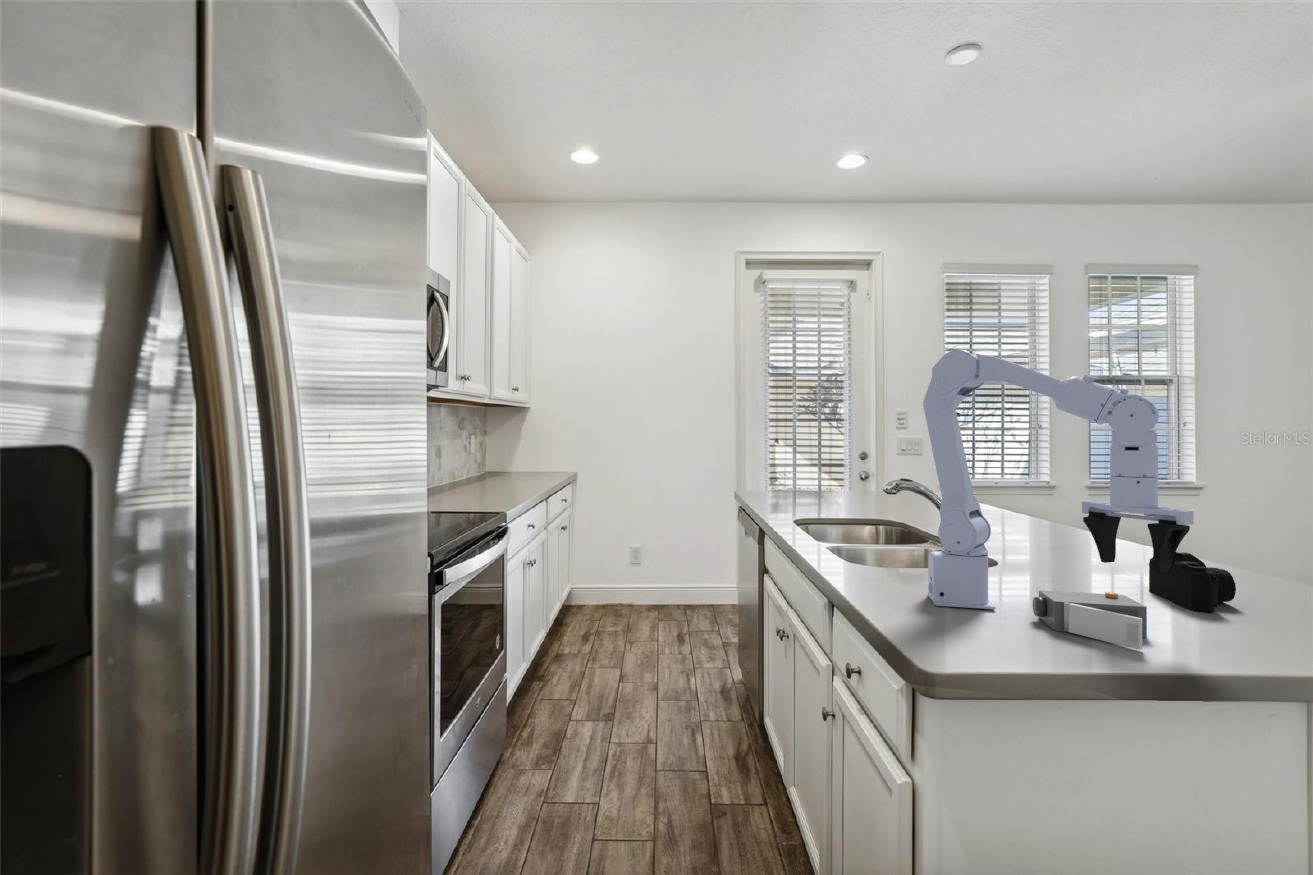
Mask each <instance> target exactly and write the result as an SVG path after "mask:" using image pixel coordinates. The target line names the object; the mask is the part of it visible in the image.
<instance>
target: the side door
mask: <svg viewBox="0 0 1313 875" xmlns="http://www.w3.org/2000/svg"><path fill="white" fill-rule="evenodd" d="M1064 631H1067V632H1068V633H1072V634H1075V635H1079V636H1083V637H1086V638H1087V637H1088V638H1091V639H1096V640H1099V641H1103V642H1107V643H1111V644H1115V645H1120V646H1123V647H1127V648H1131V649H1134V650H1139V651H1140V650H1142V649H1143V637H1142V618H1138V617H1133V616H1129V615H1124V614H1119V613H1115V612H1110V611H1105V610H1101V609H1096V608H1091V607H1086V606H1082V605H1077V604H1072V603H1071V604H1070V603H1068V602H1064ZM1064 631H1063V632H1064Z"/></svg>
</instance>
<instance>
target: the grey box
mask: <svg viewBox="0 0 1313 875" xmlns="http://www.w3.org/2000/svg"><path fill="white" fill-rule="evenodd" d="M1064 602H1068V603H1070V604H1071V603H1072V604H1077V605H1082V606H1086V607H1091V608H1096V609H1101V610H1105V611H1110V612H1115V613H1119V614H1124V615H1129V616H1133V617H1138V618H1142V638H1147V637H1148V632H1147V630H1148V628H1147V626H1148V625H1147V623H1148V621H1147V620H1148V617H1147V614H1148V612H1147V610H1148V608H1147V606H1146V605H1144V604H1142V603H1140V602H1138V601H1136V600H1134V599H1132V598H1130V597H1129V596H1126V595H1124V594H1118V593H1117V592H1111V591H1106V592H1104V593H1095V592H1093V593H1092V592H1091V593H1090V592H1075V591H1074V592H1071V591H1057V590H1056V591H1054V590H1038V597H1037V596H1034V597H1033V598H1032V612H1033V615H1034V616H1035V617H1038V618H1039V619H1040V620H1041V621H1043V623H1044V624H1046V625H1047V626H1048V627H1049V628H1051V630H1053V631H1054V632H1067V631H1064Z"/></svg>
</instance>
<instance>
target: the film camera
mask: <svg viewBox="0 0 1313 875" xmlns="http://www.w3.org/2000/svg"><path fill="white" fill-rule="evenodd" d="M1148 567H1149V569H1148V570H1149V571H1148V582H1149V583H1148V592H1149V593H1151V594H1153V595H1155V596H1158V597H1160V598H1161V599H1164V600H1167V601H1168V600H1169V601H1168V602H1170V601H1171V603H1172V604H1175V605H1178V606H1179V607H1182V608H1184V609H1187V610H1189V611H1192V612H1195V613H1201V614H1213V613H1214V612H1215V609H1216V608H1217V607H1218V604H1222V603H1227V602H1228V603H1229V602H1231V601H1232V600H1234V599H1235V596H1236V592H1237V587H1236V586H1237V585H1236V582H1235V578H1234V577H1233V576H1232V574H1231V573H1230V571H1228V570H1226V569H1225V568H1224V569H1223V568H1221V569H1220V568H1218V567H1211V566H1210V567H1208V566H1207V565H1206V564H1205V562H1203V561H1202V560H1200V559H1199V558H1198V557H1197V556H1195V555H1193V554H1191V553H1188V552H1186V551H1185V552H1177V551H1176V552H1175V554H1174V557H1173V560H1172V563H1171V566H1170V570H1169V572H1166V573H1157V572H1155V571H1154V566H1153V557H1151V558H1150V559H1149V562H1148Z"/></svg>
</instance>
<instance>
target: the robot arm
mask: <svg viewBox="0 0 1313 875" xmlns="http://www.w3.org/2000/svg"><path fill="white" fill-rule="evenodd" d="M1001 383H1007V384H1010V385H1014V386H1016V387H1020V388H1022V389H1024V390H1028V391H1032V392H1033V393H1037V394H1040V395H1042V396H1046V397H1049V398H1052V399H1053V402H1054V404H1055V406H1056V408H1057V409H1058V410H1059V411H1062V412H1064V413H1068V414H1070V415H1074V416H1075V417H1079V418H1082V419H1084V420H1087V421H1089V422H1092V423H1095V424H1098V425H1103V424H1108V426H1109V427H1110V428H1111V429H1112V430H1111V444H1110V446H1109V502H1108V501H1095V500H1094V501H1092V500H1085V501H1083V500H1082V501H1081V514H1087V516H1083V517H1082V521H1083V523H1084V525H1085V526H1086V527H1087V529H1088V531H1089V532H1090V534H1091V536H1092V538H1093V541H1094V543H1095V545H1096V548H1097V549H1096V550H1097V552H1098V555H1099V558H1100V562H1101V563H1104V564H1107V563H1115V561H1116V554H1117V549H1116V548H1117V547H1116V546H1117V545H1116V544H1117V543H1116V542H1117V535H1118V530H1119V529H1118V528H1119V525H1120V522H1121V520H1122V518H1126V519H1135V520H1143V521H1152V523H1151V522H1150V523H1147V528H1148V532H1149V534H1150V539H1151V543H1152V550H1153V551H1152V556H1153V557H1152V558H1153V566H1154V571H1155V572H1157V573H1166V572H1169V570H1170V566H1171V563H1172V560H1173V557H1174V554H1175V552H1177V550H1178V547H1179V546H1180V544H1181V542H1182V541H1183V539H1184V538H1185V536H1186V535H1187V534H1188V533H1189V532H1190V528H1191V527H1190V526H1191V525H1192V526H1193V525H1194V510H1189V509H1181V508H1173V507H1172V508H1171V507H1166V506H1164V507H1163V506H1159V446H1158V445H1157V441H1158V434H1157V432H1156V431H1157V430H1156V429H1154V428H1155V427H1156V426H1157V424H1158V422H1159V419H1160V414H1159V410H1158V409H1157V407H1156V405H1155V404H1154V403H1152V402H1151V401H1150V400H1148V399H1147V398H1145V397H1143V396H1135V395H1132V396H1128V395H1129V392H1130V390H1128V389H1126V388H1123V387H1121V388H1119V390H1118V389H1116V388H1113V387H1110V386H1108V385H1104V384H1101V383H1099V382H1095V378H1094V377H1092V376H1090V375H1086V374H1085V375H1084V376H1083V377H1081V376H1078V375H1074V376H1071V377H1068V378H1065V379H1058V378H1056V377H1053V376H1050V375H1048V374H1045V373H1042V372H1040V371H1038V370H1034V369H1031V368H1029V367H1025V366H1023V365H1021V364H1019V363H1015V362H1013V361H1009V360H1007V359H1004V358H1000V357H996V356H992V355H991V356H990V355H986V354H982V353H975V352H974V354H972V353H970V352H969V351H967V350H964V349H953V350H950V351H948V352H946V353H944V354H943V355H942V356H941V358H939V360H938V361H937V362H936V364H934V366H932V368H931V378H930V381H929V383H928V384H929V385H928V387H927V390H926V391H925V392H926V393H925V395H924V398H923V402H922V403H923V404H922V407H923V411H924V416H925V421H926V426H927V431H928V434H929V440H930V445H931V450H932V455H933V460H934V465H935V470H936V474H937V480H938V485H939V489H940V494H941V498H942V500H941V505H940V508H939V516H940V523H939V526H938V531H937V534H938V535H937V536H938V540H939V542H940V543H941V545H942V547H941V550H940V551H939V550H937V551H929V554H928V561H927V562H928V563H927V564H928V565H927V566H928V568H927V570H928V571H927V572H928V577H927V578H928V579H927V581H928V582H927V583H928V584H927V588H928V589H927V591H928V592H927V596H928V597H929V599H930V600H931V601H932V603H933V605H935V606H938V607H949V608H950V607H953V608H967V609H968V608H969V609H982V610H983V609H984V610H996V609H997V608H996V605H995V604H993V603H992V602H991V601H990V599H989V550H988V549H987V548H986V546H985V544H986V543H987V542H988V541H989V539H990V537H991V533H992V528H991V524H990V523H989V520H987V518H986V517H985V516H984V514H983V512H982V510H981V505H980V503H979V501H978V500H977V498H976V496H975V495H974V490H973V485H972V484H973V483H972V479H971V475H970V472H969V471H970V470H969V466H968V462H967V457H966V451H965V446H964V442H963V439H962V433H961V428H960V424H959V419H958V414H957V408H958V407H959V406H960V405H961V403H962V402H963V401H964V400H965V398H967V396H968V395H969V394H972V393H973V392H975V391H976V390H978V389H979V388H981V387H982V386H983V385H985V384H989V385H994V384H1001ZM1138 514H1141V515H1138ZM1153 522H1154V523H1153Z"/></svg>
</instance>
